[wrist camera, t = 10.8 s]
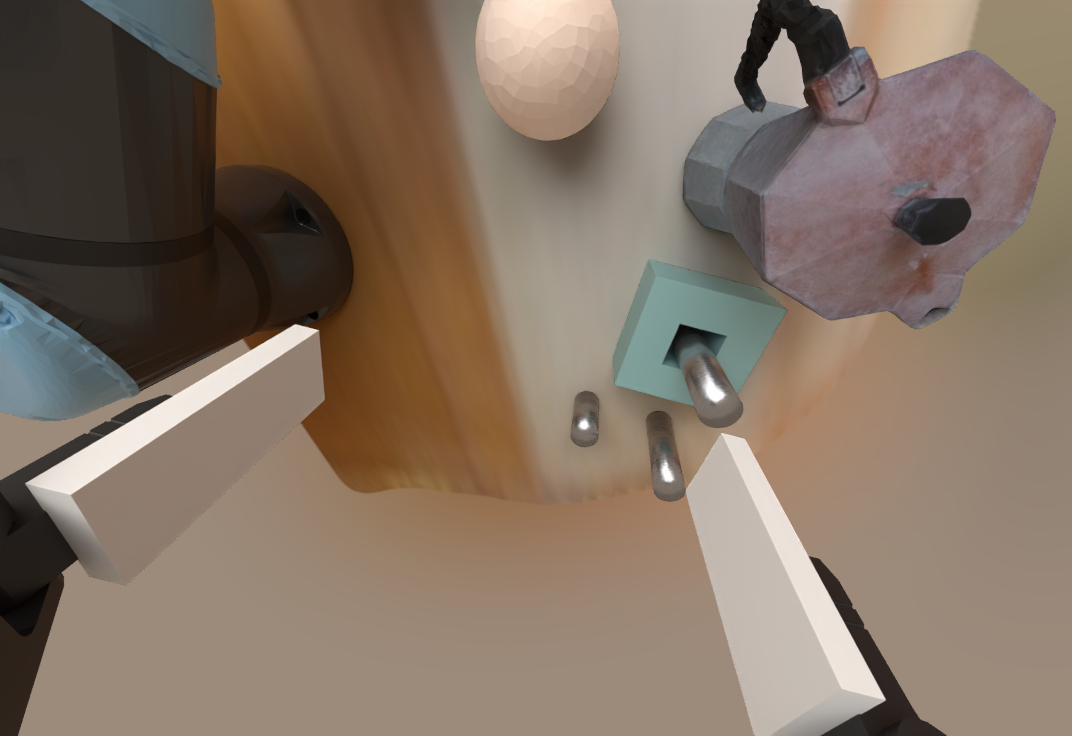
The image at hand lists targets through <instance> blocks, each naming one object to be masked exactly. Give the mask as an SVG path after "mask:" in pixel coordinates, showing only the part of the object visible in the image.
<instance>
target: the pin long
mask: <svg viewBox="0 0 1072 736" xmlns="http://www.w3.org/2000/svg"><path fill="white" fill-rule="evenodd" d="M672 346H673V349H674V352H675V354H676V357H677V360H678V362H679V365H680V368H681V371H682V373H683V376H684V379H685V381H686V384H687V387H688V390H689V392H690V395H691V398H692V400H693V403H694V406H695V409H696V411H697V414H698V417H699V419H700V420H701V421H702V422H703V423H704V424H705V425H707V426H710V427H714V428H722V427H727V426H730V425H732V424H733V423H735V422H736V421H737V420H738V419H739V418H740V417H741V415H742V413H743V405H742V402H741V401H740V399H739V397H738V395H737V394H736V392H735V390H734V388H733V386H732V385H731V383H730V381H729V379H728V378H727V376H726V374H725V372H724V371H723V369H722V367H721V365H720V364H719V362H718V360H717V358H716V357H715V355H714V353H713V351H712V350H711V348H710V346H709V344H708V343H707V341H706V339H705V337H704V335H703V334H702V332H701V330H700V329H698V328H694V327H691V326H687V325H683V324H680V325H679V327H678V329H677V331H676V334H675V336H674V338H673V340H672Z"/></svg>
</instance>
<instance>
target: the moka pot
mask: <svg viewBox="0 0 1072 736" xmlns="http://www.w3.org/2000/svg"><path fill="white" fill-rule="evenodd" d="M757 6H758V11H757V12H756V13H755V16H754V20H753V22H752V29H751V34H750V36H749V38H748V40H747V46H746V51H745V52H744V53H743V55H742V57H741V62H740V64H739V67H738V70H737V72H736V74H735V77H734V82H735V85H736V87H737V89H738V91H739V93H740V95H741V96H742V98H743V101H744V103H745V104H742V105H740V106H738V107H735V108H733V109H731V110H729V111H727V112H725V113H723V114H721V115H719V116H717V117H714V118H713V119H712V120H711V121H710V122H709V124H708V125H707V126H706V127H705V129H704V130H703V131H702V133H701V135H700V136H699V137H698V138H697V140H696V142H695V143H694V145H693V146H692V148H691V150H690V152H689V154H688V156H687V158H686V161H685V167H684V180H683V199H684V201H685V202H686V204H687V206H688V207H689V209H690V210H691V211H692V213H693V214H694V215H695V217H696V218H697V220H698V221H699V222H700V223H701V224H702V225H703V226H705V227H708V228H713V229H716V230H720V231H723V232H727V233H730V234H733V235H734V237H735V239H736V240H737V242H738V243H739V244H740V246H741V247H742V249H743V250H744V252H745V253H746V255H747V256H748V258H749V260H750V261H751V263H752V264H753V266H754V268H755V269H756V270H757V272H758V274H759V275H760V277H761V278H762V280H763V281H765V282H766V283H768V284H770V285H771V286H773V287H775V288H776V289H778V290H780V291H781V292H783V293H785V294H786V295H788V296H789V297H791V298H793V299H794V300H796V301H798V302H799V303H801V304H803V305H804V306H806V307H807V308H809V309H811V310H812V311H814V312H816V313H817V314H819V315H820V316H822V317H824V318H826V319H828V320H837V319H843V318H849V317H855V316H860V315H865V314H870V313H876V312H883V311H889V312H891V313H892V314H894V315H896V316H897V317H898V318H899V319H900V320H901V321H903V322H904V323H906V324H907V325H908V326H910V327H912V328H914V329H921V328H923V327H926V326H927V325H929V324H931V323H934V322H935V321H938V320H940V319H941V318H943V317H945V316H946V315H948V314H950V313H951V312H953V310H954V309H955V307H956V304H957V303H958V300H959V296H960V293H961V289H962V285H963V280H964V276H965V274H966V272H967V271H968V270H969V269H970V268H972V267H973V266H974V265H975V264H976V263H977V262H978V261H979V260H981V259H982V258H983V257H984V256H985V255H987V254H988V253H990V252H991V251H992V250H993V249H995V248H996V247H997V246H998V245H1000V244H1001V243H1002V242H1003V241H1004V240H1006V239H1007V238H1008V237H1009V236H1010V235H1011V234H1012V233H1013V232H1015V231H1016V230H1017V229H1018V228H1019V227H1020V226H1021V225H1023V224H1024V222H1025V219H1026V217H1027V215H1028V213H1029V210H1030V207H1031V204H1032V200H1033V197H1034V193H1035V190H1036V186H1037V182H1038V178H1039V174H1040V170H1041V167H1042V164H1043V161H1044V158H1045V155H1046V152H1047V149H1048V145H1049V142H1050V139H1051V135H1052V132H1053V128H1054V125H1055V122H1056V118H1055V111H1054V110H1052V109H1051V108H1050V107H1049V106H1048V105H1046V104H1045V103H1044V102H1043V101H1042V100H1041V99H1040V98H1038V97H1037V96H1036V95H1035V94H1034V93H1033V92H1031V91H1030V90H1029V89H1028V88H1026V87H1025V86H1024V85H1023V84H1021V83H1020V82H1019V81H1018V80H1016V79H1015V78H1014V77H1013V76H1011V75H1010V74H1009V73H1007V72H1006V71H1005V70H1004V69H1003V68H1001V67H1000V66H999V65H998V64H996V63H995V62H994V61H993V60H991V59H990V58H989V57H988V56H987V55H984V54H982V53H980V52H978V51H976V50H972V51H965V52H962V53H959V54H956V55H953V56H950V57H948V58H945V59H942V60H939V61H936V62H933V63H930V64H927V65H924V66H921V67H918V68H915V69H912V70H909V71H906V72H903V73H900V74H897V75H894V76H890V77H887V78H884V79H879V78H878V74H877V71H876V69H875V66H874V64H873V61H872V59H871V57H870V56H869V54H868V52H867V51H866V49H865V47H853V48H852V49H850V48H849V46H848V43H847V40H846V37H845V33H844V30H843V27H842V24H841V21H840V20H839V18H838V16H837V14H834V13H833V12H832V11H831V10H830V9H823V8H820V7H819V6H818V5H817V6H813V5H812V4H811V2H810V1H809V0H760V2H759V4H758V5H757ZM781 28H783V29H786V30H787V36H788V39H790V40H791V41H792V42H793V43H794V44H795V47H796V50H797V53H798V56H799V59H800V63H801V66H802V76H803V82H804V86H805V89H804V92H803V94H804V97H805V100H806V103H807V104H808V105H809V106H807V107H805V108H803V109H799V108H796V107H791V106H786V105H781V104H777V103H772V102H767V101H766V99H765V97H764V95H763V93H762V91H761V89H760V87H759V85H758V83H757V77H758V69H759V68H760V67H761V66H762V64H763V63H764V62H765V61H766V60H767V58H768V53H769V52H770V51H771V49H772V46H773V44H774V42H775V41H776V40H778V37H779V34H780V32H781Z"/></svg>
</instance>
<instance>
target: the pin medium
mask: <svg viewBox="0 0 1072 736" xmlns="http://www.w3.org/2000/svg"><path fill="white" fill-rule="evenodd" d="M646 426H647V435H648V444H649V453H650V462H651V472H652V481H653V490H654V494H655V495H656V496H657V497H658V498H659V499H661V500H664V501H669V502H670V501H677V500H679V499H681V498H682V497H683V496H684V495H685V491H686V489H685V484H684V479H683V475H682V470H681V465H680V460H679V455H678V451H677V446H676V441H675V436H674V431H673V427H672V422H671V418H670V416H669V415H668V414H667V413H665V412H662V411H656V412H653V413H651V414H649V415H648V417H647V418H646Z"/></svg>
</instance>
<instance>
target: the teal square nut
mask: <svg viewBox="0 0 1072 736" xmlns="http://www.w3.org/2000/svg"><path fill="white" fill-rule="evenodd" d="M786 312H787V309H785V308H784V307H783V306H782V305H781V304H779V303H778V302H777V301H776V300H775V299H773V298H772V297H771V296H770V295H768V294H767V293H766V292H765V291H764V290H762V289H761V288H758V287H754V286H750V285H746V284H742V283H738V282H735V281H731V280H727V279H723V278H719V277H715V276H711V275H707V274H704V273H700V272H696V271H692V270H688V269H684V268H680V267H677V266H673V265H669V264H665V263H661V262H657V261H653V260H650V259H649V260H648V263H647V265H646V268H645V271H644V273H643V276H642V279H641V282H640V284H639V287H638V290H637V293H636V295H635V298H634V301H633V304H632V306H631V309H630V312H629V314H628V317H627V320H626V323H625V325H624V328H623V331H622V334H621V336H620V339H619V342H618V345H617V347H616V350H615V353H614V355H613V369H614V385H616V386H620V387H624V388H628V389H631V390H635V391H639V392H642V393H646V394H650V395H653V396H657V397H661V398H665V399H668V400H672V401H676V402H679V403H683V404H687V405H690V406H694V403H693V400H692V398H691V395H690V392H689V390H688V387H687V384H686V381H685V379H684V376H683V373H682V371H681V368H680V365H679V362H678V360H677V357H676V354H675V352H674V349H673V346H672V340H673V338H674V336H675V334H676V331H677V329H678V327H679V325H680V324H683V325H687V326H691V327H694V328H698V329H702V330H701V332H702V334H703V335H704V337H705V339H706V341H707V343H708V344H709V346H710V348H711V350H712V351H713V353H714V355H715V357H716V358H717V360H718V362H719V364H720V365H721V367H722V369H723V371H724V372H725V374H726V376H727V378H728V379H729V381H730V383H731V385H732V386H733V388H734V390H735V392H736V394H738V393H739V391H740V389H741V388H742V386H743V384H744V383H745V381H746V379H747V377H748V376H749V374H750V372H751V371H752V369H753V367H754V366H755V364H756V362H757V361H758V359H759V357H760V356H761V354H762V352H763V350H764V349H765V347H766V345H767V344H768V342H769V340H770V339H771V337H772V335H773V334H774V332H775V330H776V329H777V327H778V325H779V323H780V322H781V320H782V318H783V317H784V315H785V313H786ZM694 407H695V406H694Z"/></svg>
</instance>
